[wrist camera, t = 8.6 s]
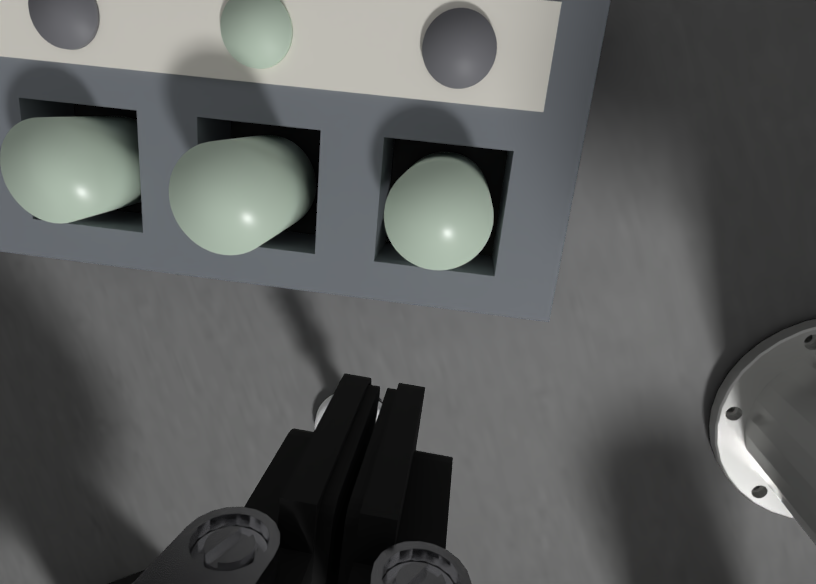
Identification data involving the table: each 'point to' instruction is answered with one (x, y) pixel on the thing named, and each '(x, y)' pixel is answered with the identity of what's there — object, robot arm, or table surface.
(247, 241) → the button middle
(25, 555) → the table surface
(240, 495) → the table surface
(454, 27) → the board
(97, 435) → the table surface
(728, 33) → the table surface
